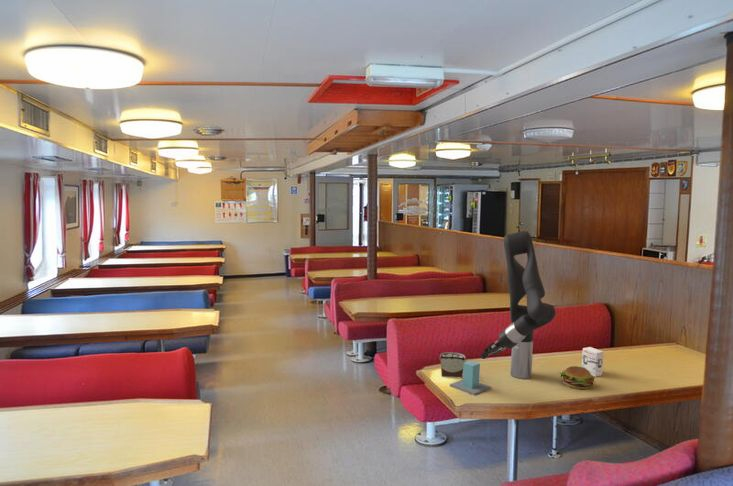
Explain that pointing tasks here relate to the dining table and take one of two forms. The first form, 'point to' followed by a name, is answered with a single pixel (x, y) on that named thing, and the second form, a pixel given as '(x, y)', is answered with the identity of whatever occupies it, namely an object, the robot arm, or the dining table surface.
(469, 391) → the grey mat
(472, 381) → the teal block
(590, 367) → the ink box
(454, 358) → the food container
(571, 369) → the food
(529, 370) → the robot arm
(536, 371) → the dining table surface
